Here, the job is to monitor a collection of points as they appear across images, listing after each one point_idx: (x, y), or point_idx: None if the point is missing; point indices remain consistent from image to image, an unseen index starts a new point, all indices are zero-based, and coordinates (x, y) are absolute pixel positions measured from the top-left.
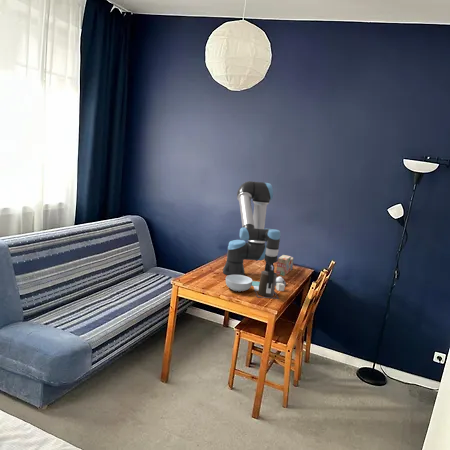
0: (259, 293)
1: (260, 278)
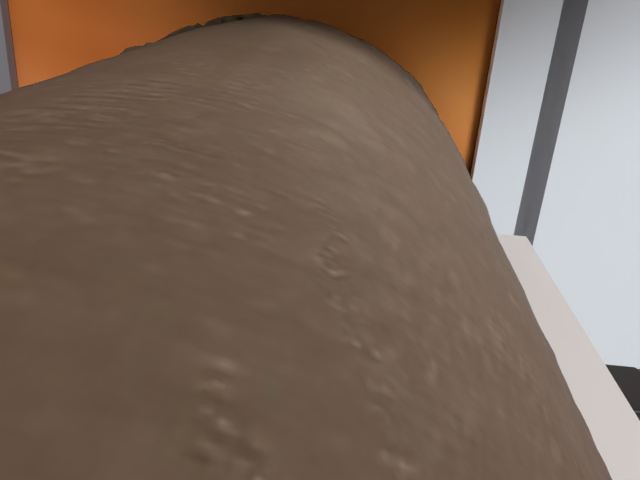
0: (193, 29)
1: (93, 114)
